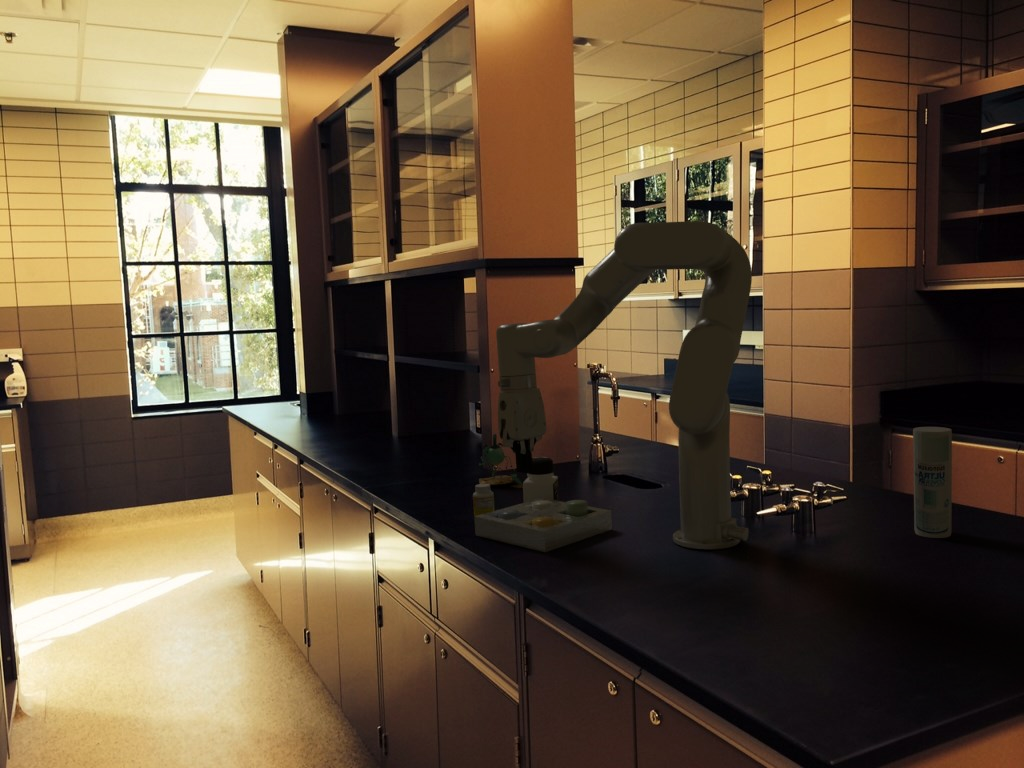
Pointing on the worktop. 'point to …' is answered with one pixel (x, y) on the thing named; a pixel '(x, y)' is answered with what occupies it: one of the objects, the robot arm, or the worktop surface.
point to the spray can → (932, 481)
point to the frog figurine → (496, 458)
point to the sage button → (576, 508)
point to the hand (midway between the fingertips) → (524, 471)
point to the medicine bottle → (541, 481)
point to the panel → (538, 537)
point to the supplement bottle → (483, 500)
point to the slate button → (508, 514)
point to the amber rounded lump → (543, 521)
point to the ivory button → (542, 505)
